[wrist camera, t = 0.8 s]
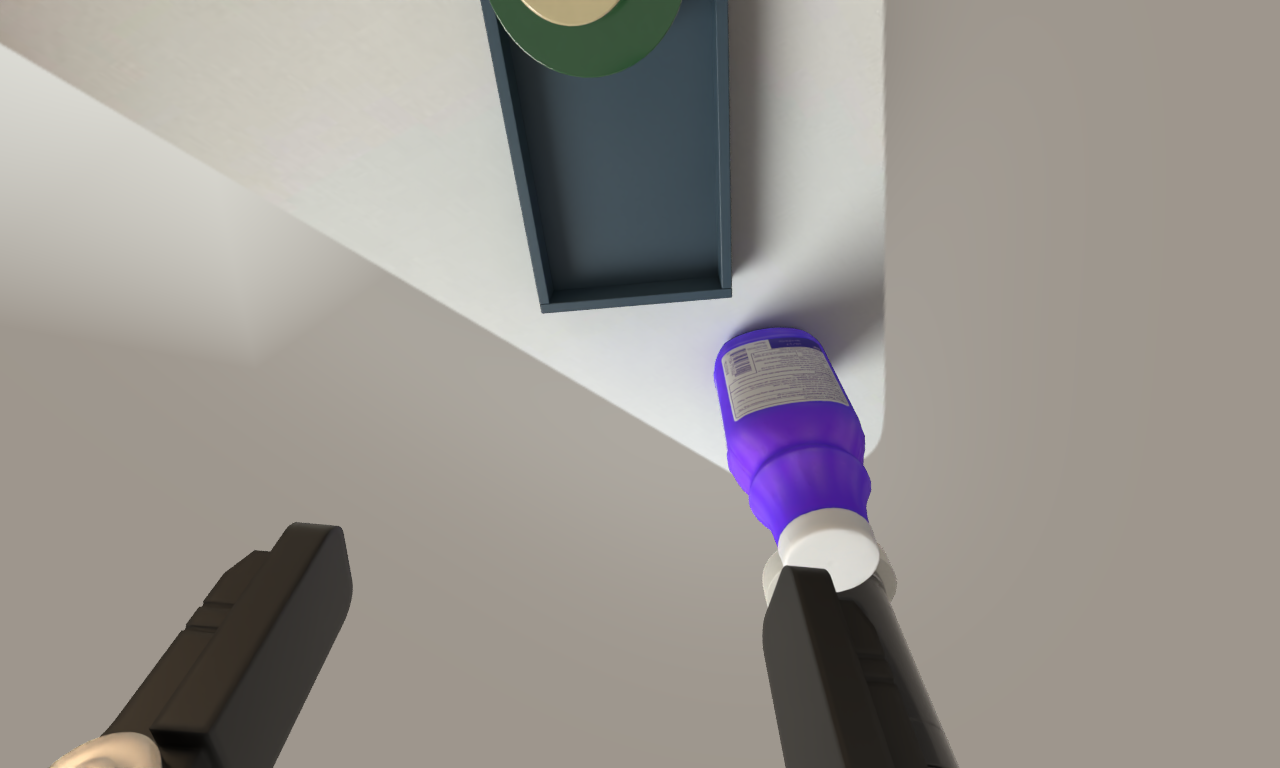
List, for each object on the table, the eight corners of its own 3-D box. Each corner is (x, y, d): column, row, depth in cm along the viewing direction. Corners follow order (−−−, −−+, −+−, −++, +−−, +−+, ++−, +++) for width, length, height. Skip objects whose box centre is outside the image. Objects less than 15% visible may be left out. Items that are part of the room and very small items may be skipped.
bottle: (714, 403, 42) (755, 617, 27) (704, 331, 39) (743, 527, 24) (820, 387, 41) (920, 597, 27) (818, 313, 39) (928, 503, 24)
